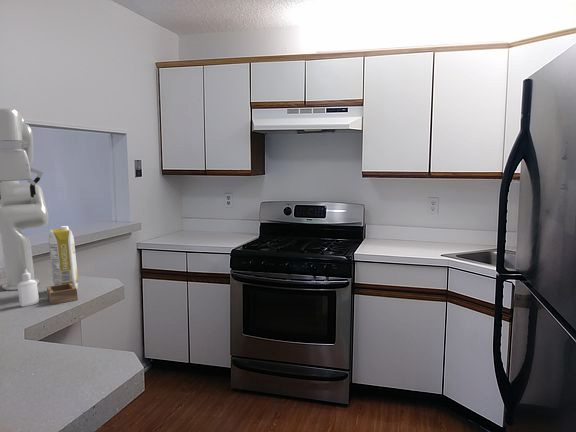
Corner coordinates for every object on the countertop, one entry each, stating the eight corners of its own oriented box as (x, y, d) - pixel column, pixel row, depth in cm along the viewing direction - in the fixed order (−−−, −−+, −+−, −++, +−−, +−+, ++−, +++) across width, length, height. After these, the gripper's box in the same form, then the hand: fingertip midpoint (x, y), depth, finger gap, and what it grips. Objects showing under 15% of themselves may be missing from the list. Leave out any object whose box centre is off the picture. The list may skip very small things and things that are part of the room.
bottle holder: (47, 298, 162) (46, 286, 161) (72, 293, 166) (71, 282, 166) (51, 304, 154) (50, 293, 153) (77, 299, 158) (76, 288, 158)
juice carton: (80, 291, 169) (73, 226, 166) (56, 295, 165) (49, 229, 162) (76, 285, 177) (70, 224, 174) (53, 289, 173) (46, 226, 170)
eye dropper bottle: (38, 305, 154) (34, 270, 153) (19, 307, 152) (14, 272, 151) (39, 301, 158) (36, 267, 157) (21, 303, 156) (17, 269, 155)
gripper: (38, 147, 161) (43, 196, 163) (-22, 148, 151) (-15, 200, 153) (40, 145, 155) (46, 196, 157) (-21, 146, 145) (-15, 201, 147)
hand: (16, 198), depth 155 cm, fingers open, 9 cm apart
